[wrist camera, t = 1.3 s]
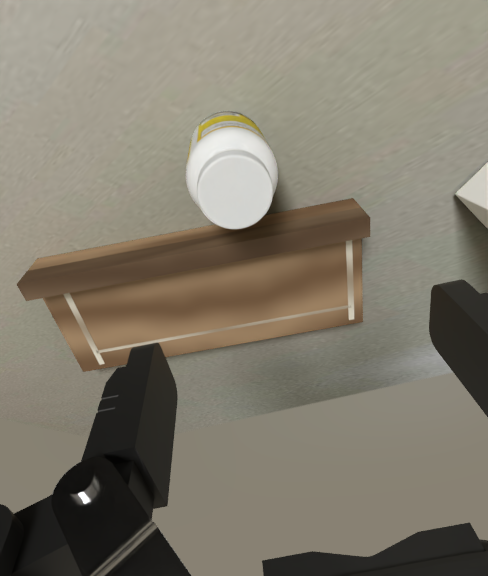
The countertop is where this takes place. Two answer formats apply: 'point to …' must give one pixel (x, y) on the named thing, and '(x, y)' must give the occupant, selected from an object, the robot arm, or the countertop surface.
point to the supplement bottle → (231, 170)
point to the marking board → (207, 285)
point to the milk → (476, 195)
